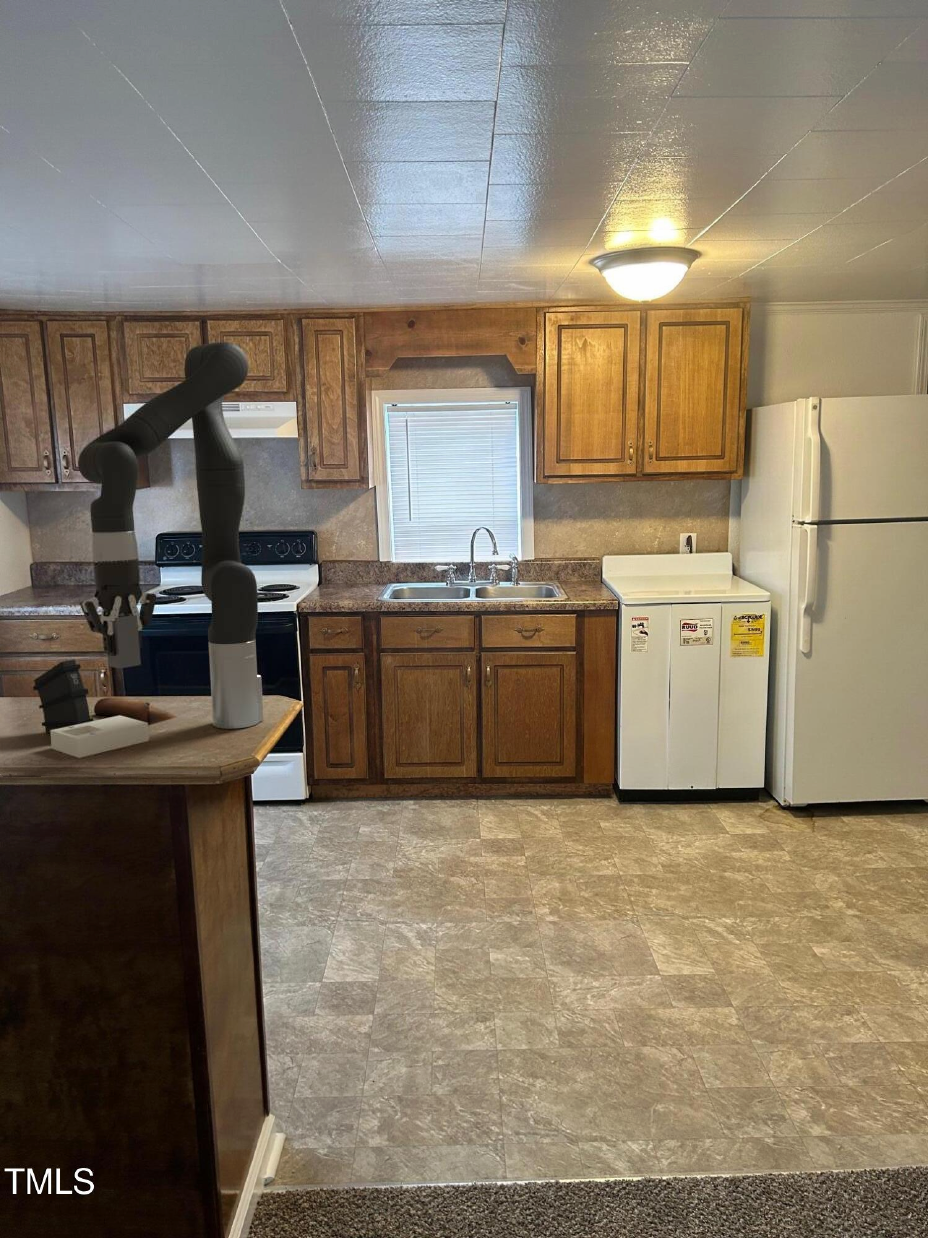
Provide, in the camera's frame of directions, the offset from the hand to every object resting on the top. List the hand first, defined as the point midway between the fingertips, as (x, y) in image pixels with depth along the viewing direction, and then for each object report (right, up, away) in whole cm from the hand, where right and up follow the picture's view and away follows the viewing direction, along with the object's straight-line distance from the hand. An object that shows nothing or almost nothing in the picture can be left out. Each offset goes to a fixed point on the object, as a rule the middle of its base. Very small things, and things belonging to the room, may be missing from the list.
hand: (123, 652), depth 161 cm
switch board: (-8, -18, +9) cm, 21 cm away
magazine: (-18, -17, +17) cm, 30 cm away
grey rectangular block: (0, -2, 0) cm, 2 cm away
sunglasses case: (-9, -15, +31) cm, 36 cm away
